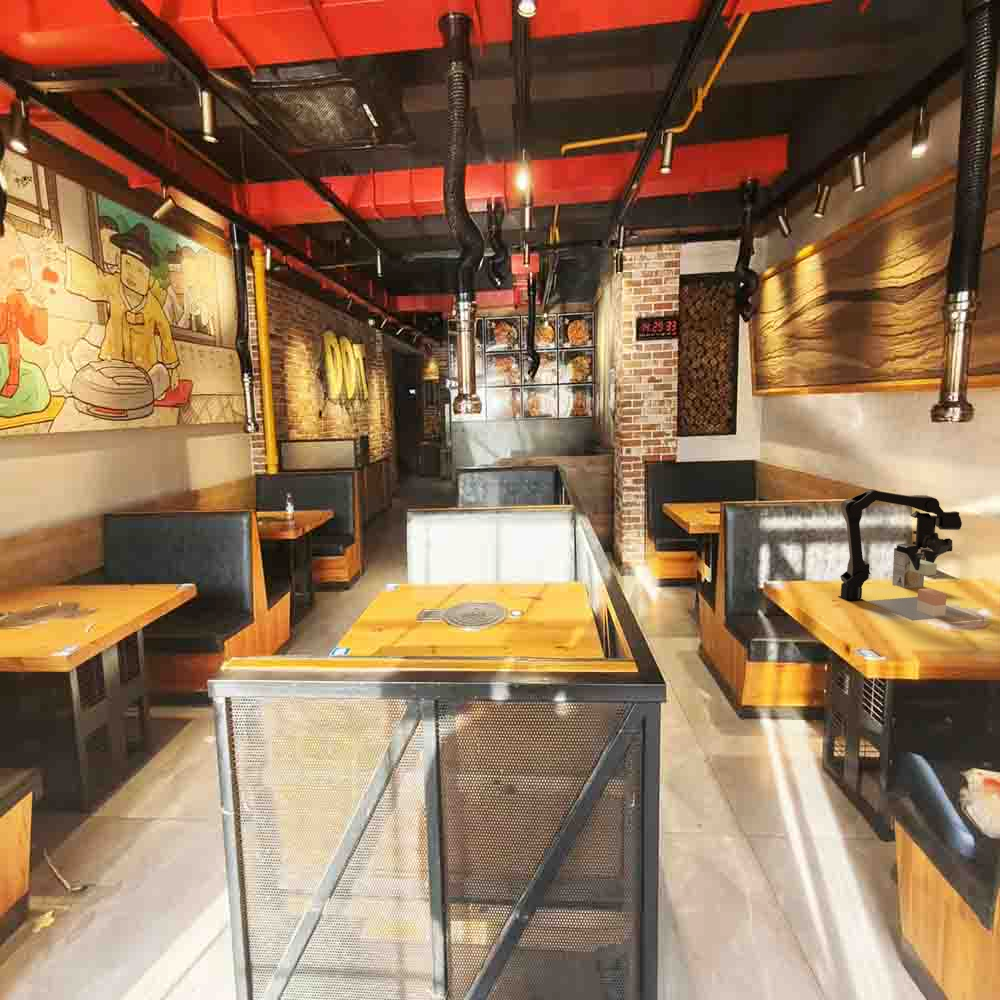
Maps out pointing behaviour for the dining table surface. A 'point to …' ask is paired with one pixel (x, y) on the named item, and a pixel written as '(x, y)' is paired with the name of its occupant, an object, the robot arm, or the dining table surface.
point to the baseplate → (912, 608)
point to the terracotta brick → (932, 597)
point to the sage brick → (924, 568)
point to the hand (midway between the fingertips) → (922, 569)
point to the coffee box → (905, 571)
